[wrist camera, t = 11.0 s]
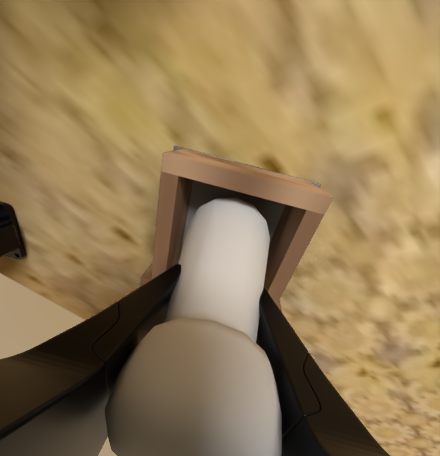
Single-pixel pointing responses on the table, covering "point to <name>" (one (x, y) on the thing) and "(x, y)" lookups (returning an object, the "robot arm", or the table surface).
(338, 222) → the table surface
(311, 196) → the brown wooden rectangular tray
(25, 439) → the robot arm
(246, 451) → the salt shaker
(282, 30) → the table surface
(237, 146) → the table surface
